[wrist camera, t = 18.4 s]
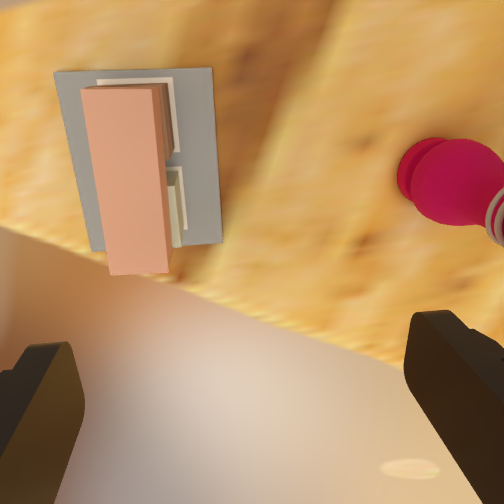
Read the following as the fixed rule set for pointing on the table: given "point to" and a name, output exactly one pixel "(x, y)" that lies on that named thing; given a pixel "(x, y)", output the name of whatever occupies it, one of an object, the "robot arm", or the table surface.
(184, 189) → the board
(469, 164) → the pepper mill
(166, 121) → the walnut cube
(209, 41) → the table surface
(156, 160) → the lintel
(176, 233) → the sage cube
